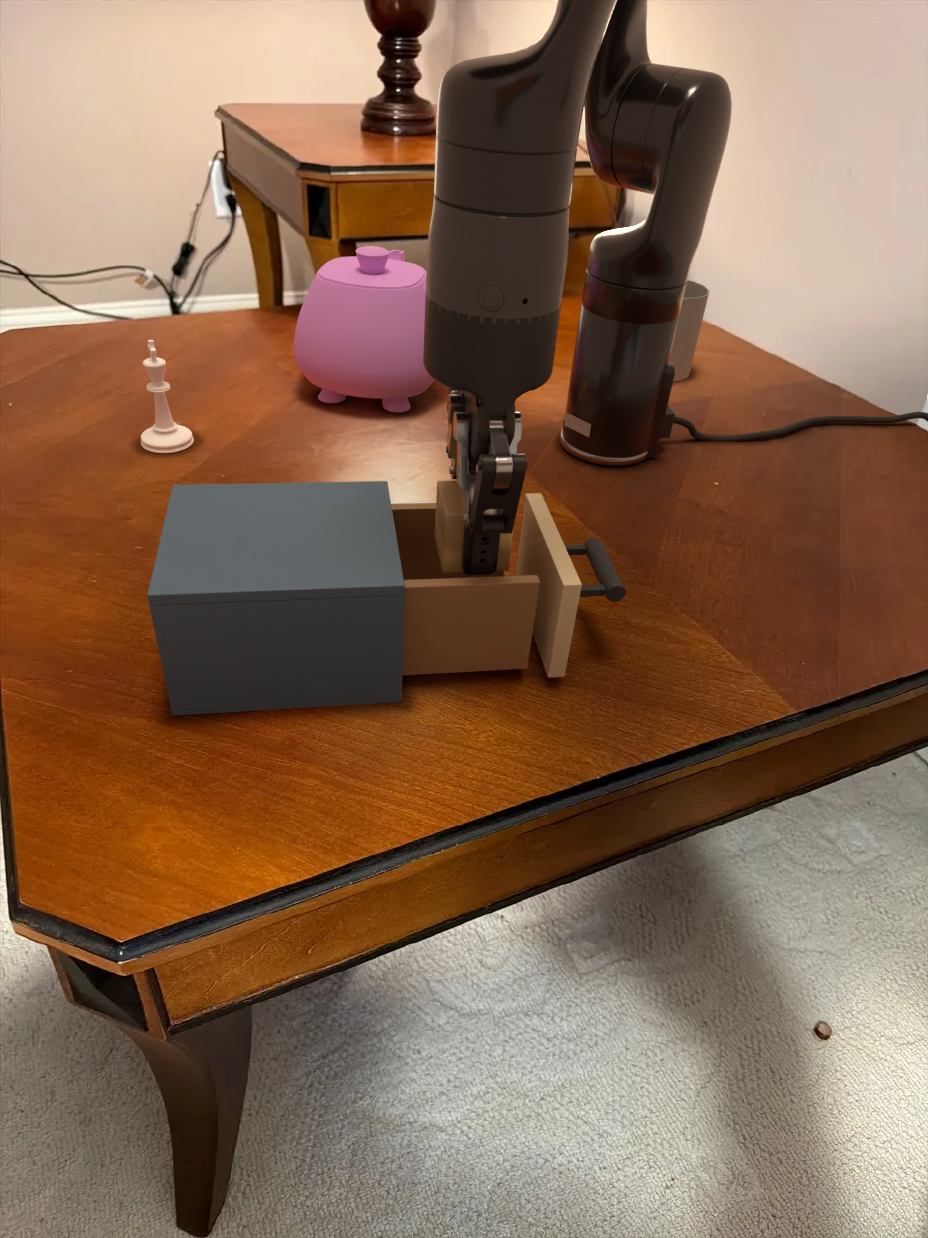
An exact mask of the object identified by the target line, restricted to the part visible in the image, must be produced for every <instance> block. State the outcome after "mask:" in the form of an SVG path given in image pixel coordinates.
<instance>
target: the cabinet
mask: <svg viewBox="0 0 928 1238" xmlns="http://www.w3.org/2000/svg"><path fill="white" fill-rule="evenodd" d="M391 504H392V502H391V495H390V489H389V483H388V481H387V480H376V481H375V480H374V481H373V480H372V481H371V480H369V481H368V480H367V481H366V480H365V481H319V482H317V481H315V482H314V481H313V482H312V481H311V482H310V481H309V482H262V483H261V482H259V483H257V482H256V483H255V482H253V483H211V484H210V483H206V484H205V483H203V484H199V483H198V484H197V483H195V484H173V485H172V487H171V491H170V496H169V499H168V504H167V508H166V512H165V517H164V522H163V525H162V531H161V534H160V537H159V542H158V547H157V551H156V554H155V555H156V556H155V560H154V564H153V569H152V572H151V577H150V582H149V585H148V590H147V594H146V596H147V601H148V605H149V606H148V607H149V611H150V615H151V616H150V617H151V621H152V625H153V630H154V634H155V640H156V644H157V650H158V653H159V659H160V663H161V669H162V672H163V678H164V682H165V688H166V692H167V696H168V701H169V706H170V712H171V716H174V717H176V716H190V715H192V716H193V715H207V714H208V715H210V714H224V713H225V714H226V713H240V712H241V713H242V712H259V711H276V710H291V709H292V710H293V709H308V708H309V709H310V708H311V709H312V708H324V707H326V708H327V707H342V706H361V705H374V704H375V705H376V704H377V705H378V704H392V703H393V704H394V703H402V701H403V675H402V670H403V633H404V594H405V584H404V578H403V572H402V566H401V560H400V554H399V548H398V542H397V536H396V530H395V524H394V518H393V512H392V506H391Z"/></svg>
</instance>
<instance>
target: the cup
mask: <svg viewBox="0 0 928 1238" xmlns="http://www.w3.org/2000/svg"><path fill="white" fill-rule="evenodd" d="M709 295H710V289H709V288H707V287H706V285H704V284H701V283H699V282H697V281H694V280H690V279H688V280H687V283H686V287H685V292H684V296H683V301H682V305H681V310H680V314H679V319H678V324H677V328H676V333H675V337H674V342H673V346H672V351H671V356H670V360H669V361H670V362H671V363H672V364H673V366H674V367H675V376H674V380H673V382H681V381H683V380H686V379H688V378H689V376H690V374H691V370H692V367H693V363H694V357H695V354H696V349H697V346H698V341H699V338H700V337H699V336H700V332H701V329H702V325H703V321H704V316H705V311H706V307H707V303H708V300H709Z"/></svg>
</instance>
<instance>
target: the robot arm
mask: <svg viewBox="0 0 928 1238" xmlns="http://www.w3.org/2000/svg"><path fill="white" fill-rule="evenodd" d="M555 1H556V7H555V11H554V15H553V17H552V20H551V22H550V24H549V26H548V28H547V30H546V31H545V33H544V34H543V35H542V36H541V37H540V38H539V39H538V40H537V41H536V42H534V43H533V44H531V45H529V46H528V47H525V48H522V49H519V50H516V51H513V52H512V51H511V52H505V53H501V54H500V53H499V54H493V55H486V56H479V57H473V58H469V59H464V60H461V61H458V62H457V63H454V64H453V65H451V66H450V67H449V68H448V69H447V70H446V71H445V73H443V76H442V78H441V81H440V85H439V89H438V96H437V109H436V126H435V127H436V129H435V130H436V131H435V133H436V137H435V157H434V158H435V160H434V183H433V184H434V186H433V187H434V188H433V200H432V201H433V202H432V210H431V218H430V223H429V228H428V236H427V244H426V245H427V248H426V269H425V270H426V294H425V322H424V351H423V363H424V367H425V369H426V371H427V372H428V374H429V375H430V376H431V377H432V378H433V379H435V381H436V382H437V383H439V384H441V385H442V386H445V387H447V400H446V413H447V430H446V431H447V432H446V445H445V453H446V454H447V459H451V460H450V466H449V467H448V475H450V479H451V480H456V481H457V483H458V485H459V486H460V487H461V489H462V490H463V491H465V498H464V514H463V522H465V524H464V537H463V551H462V568H463V571H464V573H465V574H466V575H489V574H493V573H494V572H495V571H496V569H497V561H498V552H499V542H500V534H508V533H512V531H513V532H514V528H515V522H516V517H517V513H518V509H519V505H520V500H521V496H522V490H523V486H524V482H525V477H526V473H527V470H528V466H529V464H528V460H527V456H526V453H518V444H519V443H520V441H521V440H522V431H523V416H522V412H521V411H516V404H515V403H516V401H517V399H519V397H521V396H522V395H524V394H526V393H529V392H530V391H531V392H532V391H535V390H537V389H539V388H541V387H542V386H544V385H545V384H546V383H547V382H548V381H549V380H550V378H551V376H552V374H553V369H554V362H555V355H556V347H557V342H558V341H557V339H558V332H559V325H560V318H561V310H562V303H563V297H564V296H563V295H564V287H565V281H566V280H565V279H566V274H567V266H568V265H567V264H568V256H569V221H570V220H569V217H570V205H571V200H572V192H573V184H574V176H575V168H576V160H577V154H578V147H579V146H578V145H579V139H580V133H581V125H582V119H583V122H584V123H583V124H584V136H585V137H584V138H585V144H586V150H587V151H586V152H587V156H588V160H589V163H590V167H591V169H592V171H593V172H594V173H595V175H596V177H597V178H599V179H600V180H601V181H603V182H605V183H607V184H608V185H612V186H615V187H618V188H623V189H627V190H631V191H635V192H639V193H644V194H649V195H652V198H651V202H650V205H649V209H648V212H647V214H646V217H645V218H644V220H643V221H642V222H640V223H638V224H636V225H633V226H627V227H621V228H620V227H619V228H614V229H610V230H606V231H603V232H601V233H599V234H597V235H596V236H595V237H594V238H593V239H592V241H591V243H590V246H589V249H588V250H589V251H588V256H587V263H586V269H585V274H584V275H585V276H584V281H583V288H582V295H581V303H580V310H579V316H578V322H577V324H578V325H577V328H576V329H577V330H576V336H575V343H574V350H573V356H572V363H571V370H570V377H569V382H568V383H569V384H568V389H567V396H566V402H565V403H566V404H565V410H564V416H563V421H562V428H561V431H560V438H559V442H560V444H561V446H562V448H563V449H564V450H565V451H567V453H568V454H570V455H572V456H574V457H576V458H578V459H580V460H582V461H585V462H588V463H592V464H595V465H596V464H597V465H602V466H612V467H614V466H616V467H619V466H630V465H631V466H632V465H635V464H638V463H641V462H643V461H644V460H647V459H655V458H657V454H658V450H659V446H660V445H659V444H660V441H661V439H670V438H671V434H672V430H673V425H674V424H675V425H679V426H681V427H683V428H685V429H687V431H688V432H689V434H690V436H691V437H692V438H694V439H696V440H699V441H702V442H714V443H715V442H716V443H717V442H719V443H720V442H722V443H723V442H724V443H734V442H736V443H738V442H747V441H754V440H759V439H768V438H774V437H778V436H783V435H787V434H789V433H792V432H794V431H797V430H799V429H802V428H804V427H808V426H812V425H818V424H828V423H854V424H857V423H859V424H894V423H899V422H904V421H910V420H916V419H921V420H925V421H926V422H927V423H928V412H925V411H913V412H907V413H903V414H898V415H893V416H892V415H891V416H869V415H867V416H865V415H825V416H824V415H823V416H815V417H810V418H805V419H802V420H799V421H797V422H794V423H791V424H789V425H786V426H783V427H779V428H775V429H774V428H773V429H769V430H761V431H754V432H748V433H740V434H732V435H715V434H714V435H712V434H708V433H704V432H700V431H698V430H697V428H696V426H695V425H694V423H693V422H692V421H690V420H688V419H686V418H684V417H679V416H676V414H675V411H673V409H672V408H671V407H670V406H669V402H670V398H671V393H672V389H673V385H674V384H673V383H674V381H673V380H674V376H675V367H674V366H673V364H672V363H671V362H670V361H669V360H670V356H671V351H672V346H673V342H674V337H675V333H676V328H677V324H678V319H679V314H680V310H681V305H682V301H683V296H684V292H685V287H686V283H687V280H689V279H688V278H689V275H690V271H691V266H692V264H693V261H694V258H695V255H696V253H697V250H698V248H699V245H700V242H701V239H702V237H703V236H702V235H703V232H704V228H705V225H706V220H707V216H708V212H709V208H710V205H711V200H712V197H713V193H714V190H715V187H716V183H717V179H718V176H719V172H720V169H721V165H722V162H723V159H724V154H725V150H726V146H727V143H728V137H729V133H730V127H731V121H732V112H733V111H732V109H733V103H732V92H731V89H730V86H729V83H728V82H727V80H726V79H725V77H723V76H722V75H720V74H719V73H716V72H713V71H709V70H703V69H702V70H701V69H697V68H696V69H694V68H687V67H683V66H682V67H681V66H673V65H666V64H660V63H654V62H652V61H651V57H650V55H649V54H650V53H649V48H648V13H649V12H648V11H649V2H650V0H555ZM513 527H514V528H513Z"/></svg>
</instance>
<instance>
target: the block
mask: <svg viewBox="0 0 928 1238" xmlns="http://www.w3.org/2000/svg"><path fill="white" fill-rule="evenodd" d="M464 498H465V491H463V490H462V489H461V487H460V486H459V485H458V483H457V480H437V482H436V498H435V499H436V500H435V503H436V516H435V535H434V537H435V541H436V545H437V549H438V554H439V558H440V562H441V567H442V571H443V573H455V572H464V571H463V568H462V551H463V537H464V524H465V522H463V514H464ZM514 528H515V526H514V527H513V529H514ZM513 536H514V530H513V531H512V533H508V534H500V542H499V552H498V561H497V569H496V571H504V572H505V571H507V572H508V571H509V569H510V563H511V562H510V560H511V554H512V553H511V552H512V545H513V544H512V543H513Z"/></svg>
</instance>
